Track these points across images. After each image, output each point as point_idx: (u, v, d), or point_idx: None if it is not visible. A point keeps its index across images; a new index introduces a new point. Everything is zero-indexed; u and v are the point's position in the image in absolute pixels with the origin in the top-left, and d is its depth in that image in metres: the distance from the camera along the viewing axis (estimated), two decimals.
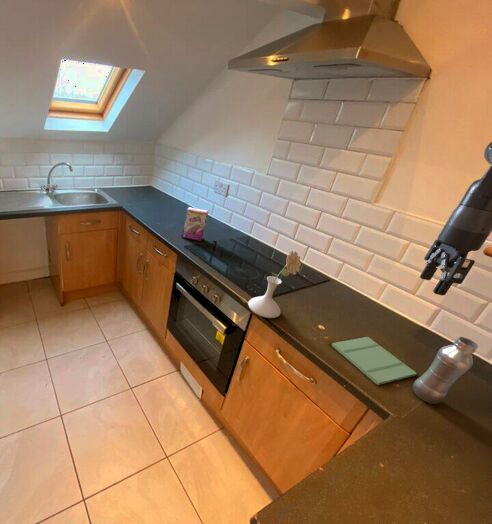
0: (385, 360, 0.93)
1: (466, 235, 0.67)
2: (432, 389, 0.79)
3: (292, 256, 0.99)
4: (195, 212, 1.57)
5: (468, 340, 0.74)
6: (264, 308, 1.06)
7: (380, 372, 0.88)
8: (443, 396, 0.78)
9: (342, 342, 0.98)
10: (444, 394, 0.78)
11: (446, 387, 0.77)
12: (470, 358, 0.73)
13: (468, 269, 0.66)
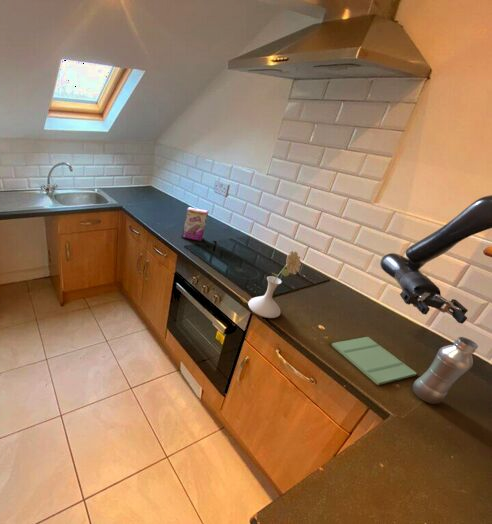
0: (385, 360, 0.93)
1: None
2: (432, 389, 0.79)
3: (292, 256, 0.99)
4: (195, 212, 1.57)
5: (468, 340, 0.74)
6: (264, 308, 1.06)
7: (380, 372, 0.88)
8: (443, 396, 0.78)
9: (342, 342, 0.98)
10: (444, 394, 0.78)
11: (446, 387, 0.77)
12: (470, 358, 0.73)
13: (405, 291, 0.91)
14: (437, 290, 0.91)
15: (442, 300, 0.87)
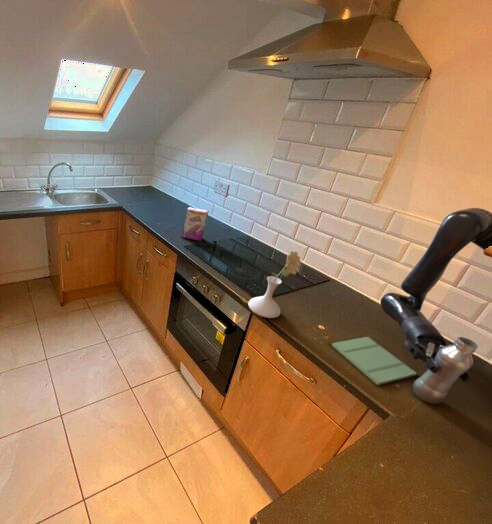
0: (385, 360, 0.93)
1: (408, 336, 0.90)
2: (432, 389, 0.79)
3: (292, 256, 0.99)
4: (195, 212, 1.57)
5: (468, 340, 0.74)
6: (264, 308, 1.06)
7: (380, 372, 0.88)
8: (443, 396, 0.78)
9: (342, 342, 0.98)
10: (444, 394, 0.78)
11: (446, 387, 0.77)
12: (470, 358, 0.73)
13: (409, 343, 0.84)
14: (442, 340, 0.84)
15: None
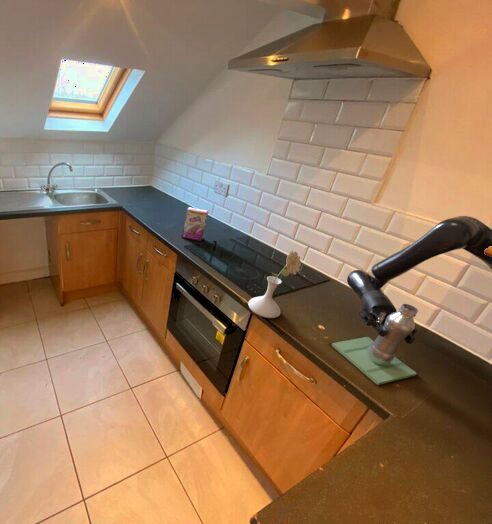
0: None
1: (366, 307, 0.99)
2: (381, 352, 0.88)
3: (292, 256, 0.99)
4: (195, 212, 1.57)
5: (411, 306, 0.84)
6: (264, 308, 1.06)
7: (380, 372, 0.88)
8: (391, 357, 0.88)
9: (342, 342, 0.98)
10: (392, 356, 0.88)
11: (393, 349, 0.87)
12: (412, 322, 0.82)
13: (364, 312, 0.93)
14: (393, 309, 0.93)
15: None
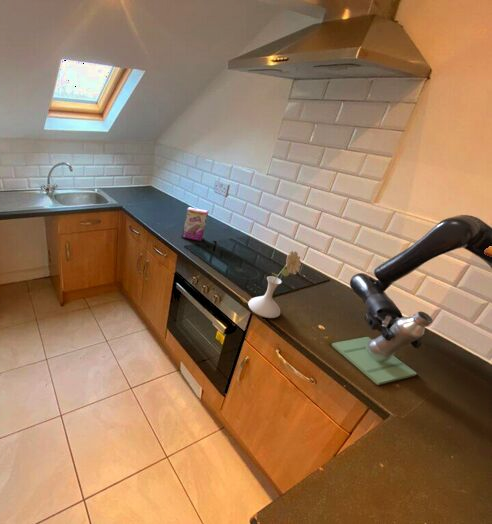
0: None
1: (370, 311, 0.98)
2: (381, 351, 0.88)
3: (292, 256, 0.99)
4: (195, 212, 1.57)
5: (426, 314, 0.81)
6: (264, 308, 1.06)
7: (380, 372, 0.88)
8: (389, 357, 0.88)
9: (342, 342, 0.98)
10: (391, 355, 0.88)
11: (394, 351, 0.87)
12: (422, 330, 0.80)
13: (369, 316, 0.92)
14: (399, 313, 0.92)
15: None
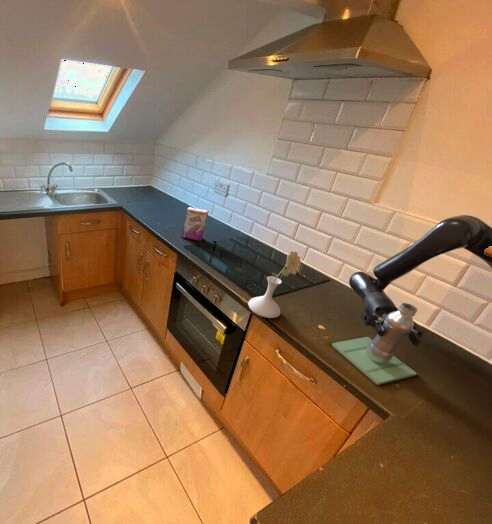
0: None
1: (368, 309, 0.99)
2: (380, 351, 0.89)
3: (292, 256, 0.99)
4: (195, 212, 1.57)
5: (410, 305, 0.84)
6: (264, 308, 1.06)
7: (380, 372, 0.88)
8: (390, 356, 0.88)
9: (342, 342, 0.98)
10: (391, 354, 0.88)
11: (392, 348, 0.87)
12: (411, 321, 0.83)
13: (365, 312, 0.93)
14: None
15: None
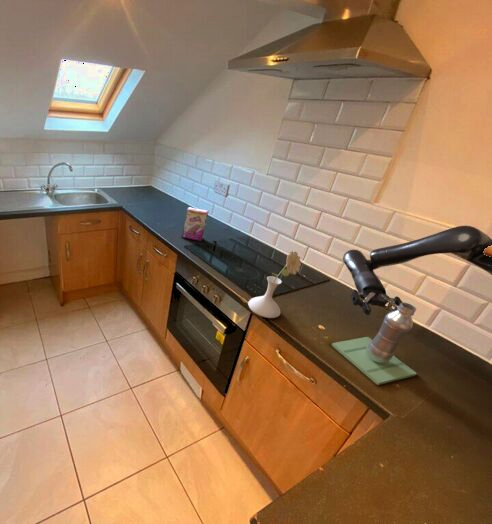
0: None
1: (358, 288, 1.08)
2: (380, 350, 0.89)
3: (292, 256, 0.99)
4: (195, 212, 1.57)
5: (409, 305, 0.85)
6: (264, 308, 1.06)
7: (380, 372, 0.88)
8: (390, 356, 0.88)
9: (342, 342, 0.98)
10: (390, 354, 0.88)
11: (392, 348, 0.87)
12: (410, 320, 0.83)
13: (353, 293, 1.03)
14: (382, 289, 1.02)
15: (385, 299, 0.99)
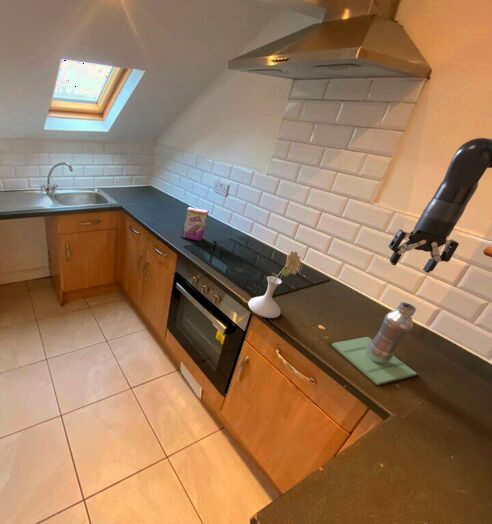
0: None
1: (421, 217, 0.84)
2: (380, 350, 0.89)
3: (292, 256, 0.99)
4: (195, 212, 1.57)
5: (409, 305, 0.85)
6: (264, 308, 1.06)
7: (380, 372, 0.88)
8: (390, 356, 0.88)
9: (342, 342, 0.98)
10: (390, 354, 0.88)
11: (392, 348, 0.87)
12: (410, 320, 0.83)
13: (397, 238, 0.87)
14: (443, 236, 0.82)
15: (432, 249, 0.84)
